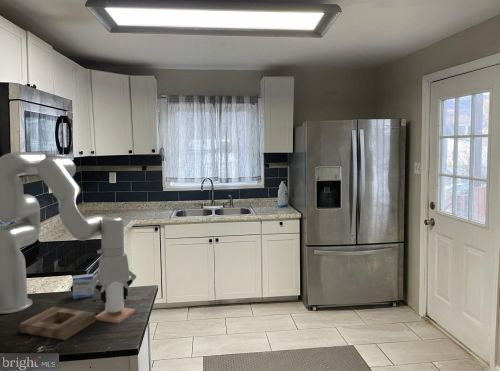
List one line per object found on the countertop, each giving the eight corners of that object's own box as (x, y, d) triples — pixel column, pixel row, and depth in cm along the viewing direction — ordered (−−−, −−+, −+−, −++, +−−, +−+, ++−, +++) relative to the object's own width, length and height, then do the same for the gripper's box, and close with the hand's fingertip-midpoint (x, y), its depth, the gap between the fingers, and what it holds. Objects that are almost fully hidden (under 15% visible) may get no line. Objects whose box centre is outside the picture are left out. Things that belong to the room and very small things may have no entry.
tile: (94, 319, 135) (94, 316, 135) (112, 308, 145) (112, 305, 144) (118, 323, 132) (118, 320, 132) (135, 311, 142) (135, 309, 142)
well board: (20, 332, 126) (20, 323, 125) (53, 314, 139) (53, 306, 139) (65, 340, 120) (64, 330, 120) (95, 321, 134) (94, 312, 134)
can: (118, 314, 134) (117, 281, 133) (101, 312, 136) (100, 279, 135) (127, 306, 141) (126, 275, 140) (111, 305, 142) (110, 273, 141)
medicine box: (73, 299, 153) (72, 278, 152) (73, 295, 157) (72, 275, 156) (94, 296, 156) (93, 276, 155) (94, 292, 160) (93, 272, 160)
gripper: (87, 257, 129) (89, 308, 131) (140, 251, 137) (141, 299, 139) (85, 251, 135) (87, 300, 137) (135, 246, 144) (136, 292, 145)
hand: (114, 299), depth 138 cm, fingers closed on can, 6 cm apart
